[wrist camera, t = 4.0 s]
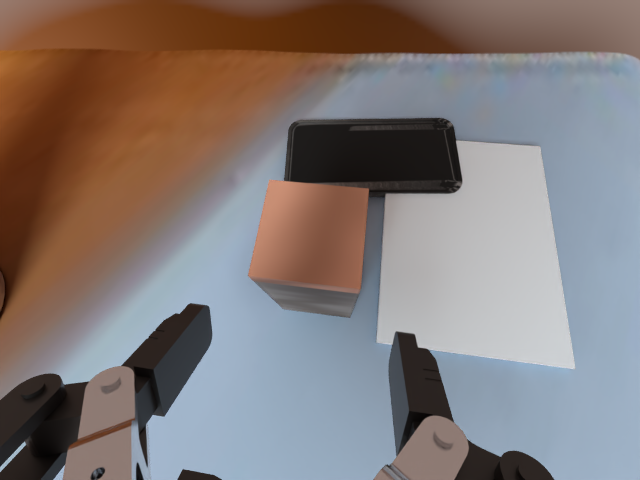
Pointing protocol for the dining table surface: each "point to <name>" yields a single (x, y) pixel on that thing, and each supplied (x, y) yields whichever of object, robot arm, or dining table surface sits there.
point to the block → (311, 246)
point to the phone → (375, 155)
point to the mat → (477, 263)
